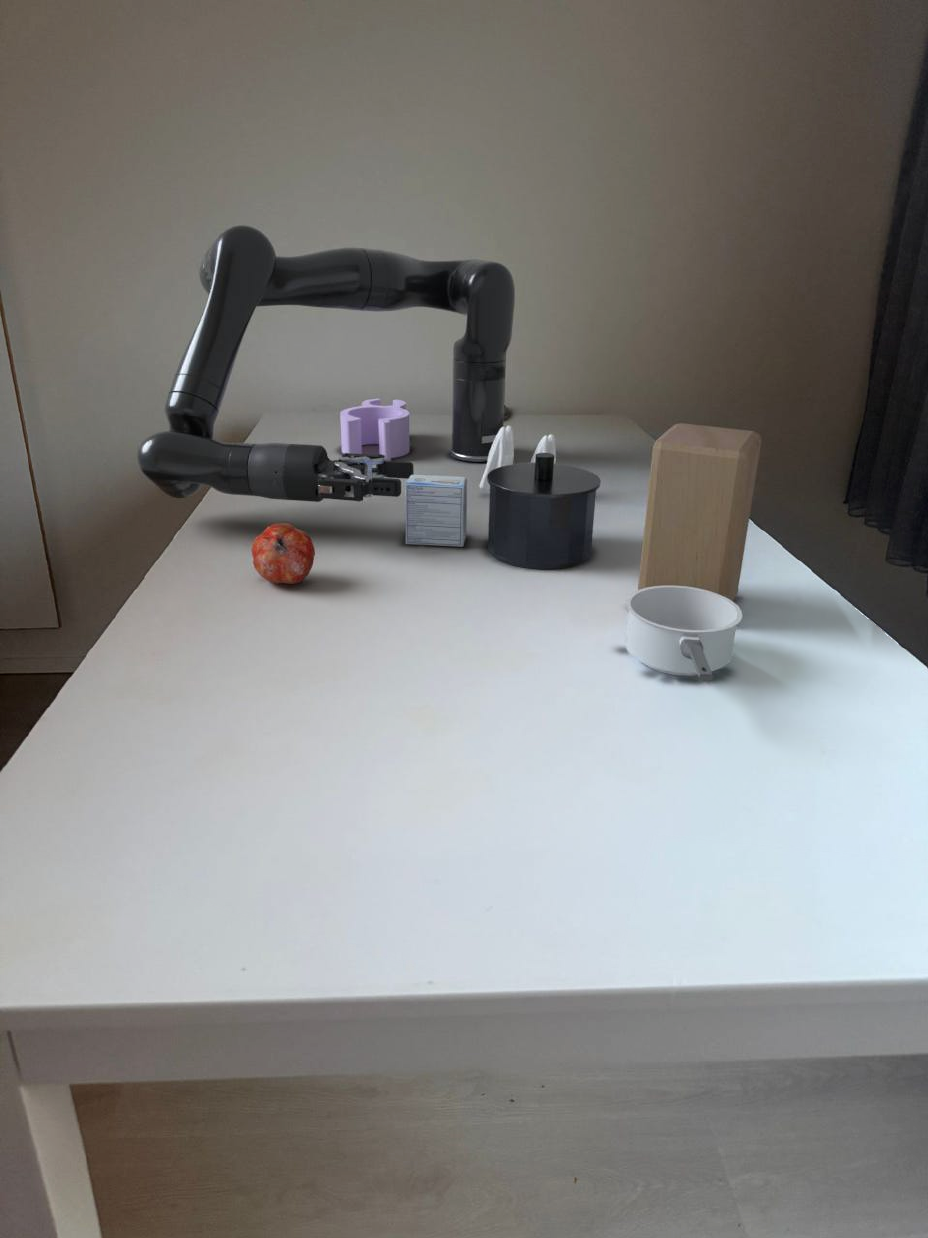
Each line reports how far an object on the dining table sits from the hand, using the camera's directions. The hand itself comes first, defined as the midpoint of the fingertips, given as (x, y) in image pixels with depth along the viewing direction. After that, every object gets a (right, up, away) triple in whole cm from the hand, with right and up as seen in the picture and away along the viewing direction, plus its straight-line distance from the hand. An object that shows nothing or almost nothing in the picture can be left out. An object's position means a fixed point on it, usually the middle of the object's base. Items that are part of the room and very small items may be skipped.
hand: (407, 478), depth 120 cm
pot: (+18, -9, +1) cm, 20 cm away
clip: (-8, +13, +50) cm, 52 cm away
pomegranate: (-14, -14, -10) cm, 22 cm away
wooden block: (+34, -17, -15) cm, 40 cm away
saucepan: (+29, -24, -31) cm, 49 cm away
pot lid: (+18, -1, -3) cm, 18 cm away
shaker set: (+16, +1, +23) cm, 28 cm away
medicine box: (+4, -8, +3) cm, 10 cm away
